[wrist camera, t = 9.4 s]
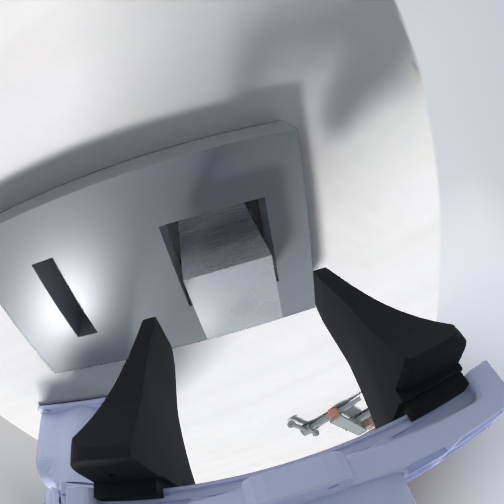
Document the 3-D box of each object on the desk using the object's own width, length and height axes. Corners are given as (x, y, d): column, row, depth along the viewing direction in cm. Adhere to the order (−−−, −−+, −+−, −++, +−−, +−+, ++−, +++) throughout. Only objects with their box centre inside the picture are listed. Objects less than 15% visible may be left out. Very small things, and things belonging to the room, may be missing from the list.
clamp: (392, 415, 40) (336, 448, 42) (386, 405, 42) (332, 437, 44) (360, 390, 32) (288, 433, 34) (352, 375, 34) (282, 418, 36)
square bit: (196, 272, 21) (207, 339, 16) (178, 219, 19) (183, 280, 14) (255, 255, 21) (282, 317, 16) (243, 201, 19) (271, 254, 14)
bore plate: (60, 349, 22) (54, 373, 20) (-20, 222, 15) (-37, 242, 13) (302, 285, 24) (315, 307, 22) (281, 120, 17) (297, 128, 15)
